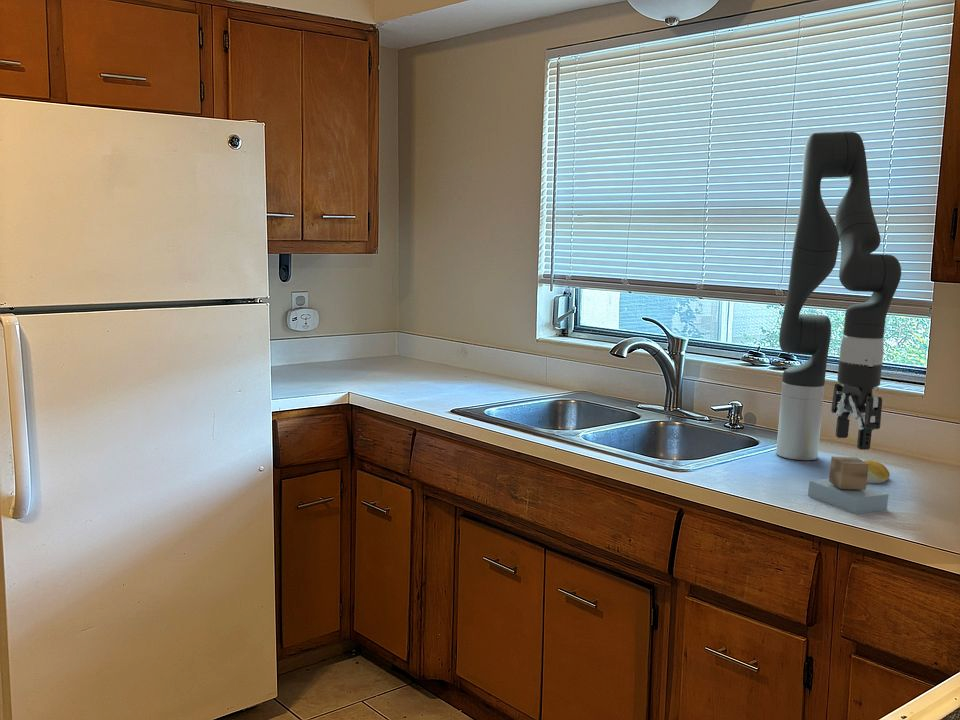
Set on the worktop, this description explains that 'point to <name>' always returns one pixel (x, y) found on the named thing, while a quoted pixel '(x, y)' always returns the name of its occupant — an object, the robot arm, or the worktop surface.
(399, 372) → the worktop surface
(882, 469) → the bread roll
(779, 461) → the worktop surface
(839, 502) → the butter dish
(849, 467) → the walnut cube
